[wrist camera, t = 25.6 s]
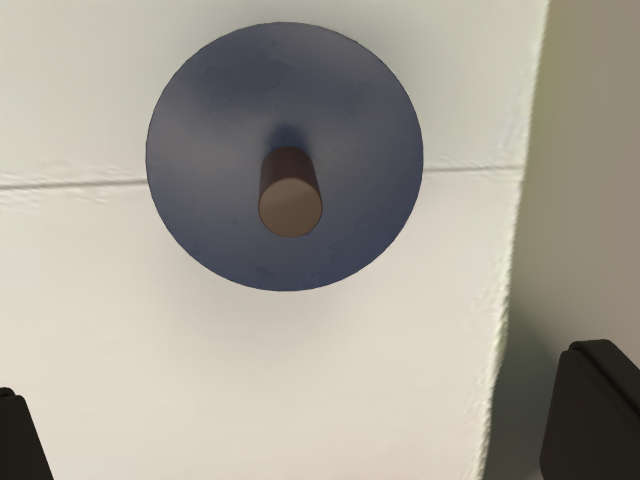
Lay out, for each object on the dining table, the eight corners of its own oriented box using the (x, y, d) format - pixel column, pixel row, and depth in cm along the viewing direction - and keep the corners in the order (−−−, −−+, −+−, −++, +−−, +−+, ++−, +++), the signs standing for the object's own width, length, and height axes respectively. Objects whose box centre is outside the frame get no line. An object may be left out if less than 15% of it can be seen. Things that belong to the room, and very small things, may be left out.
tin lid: (126, 27, 21) (79, 35, 16) (424, 15, 22) (470, 19, 17) (173, 289, 26) (149, 357, 21) (412, 272, 27) (444, 335, 22)
